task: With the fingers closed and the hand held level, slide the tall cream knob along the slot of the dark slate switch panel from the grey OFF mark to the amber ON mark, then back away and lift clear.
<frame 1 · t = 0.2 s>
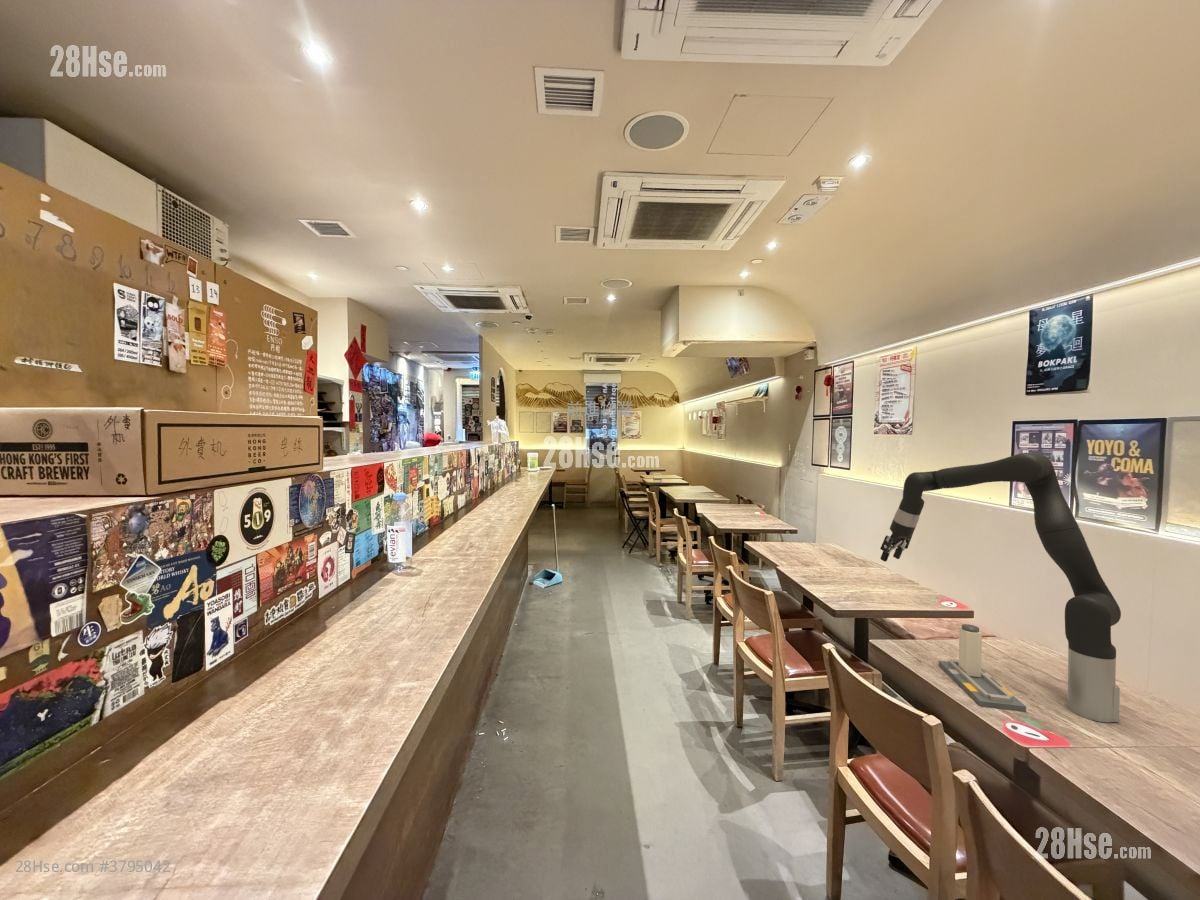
hand: (889, 559, 181), 31 cm above the table, tool tilted 20°, fingers open, 8 cm apart
switch panel: (978, 686, 145), on the table
slider knob: (970, 649, 150), point 9 cm above the table, slide at 0.0 cm
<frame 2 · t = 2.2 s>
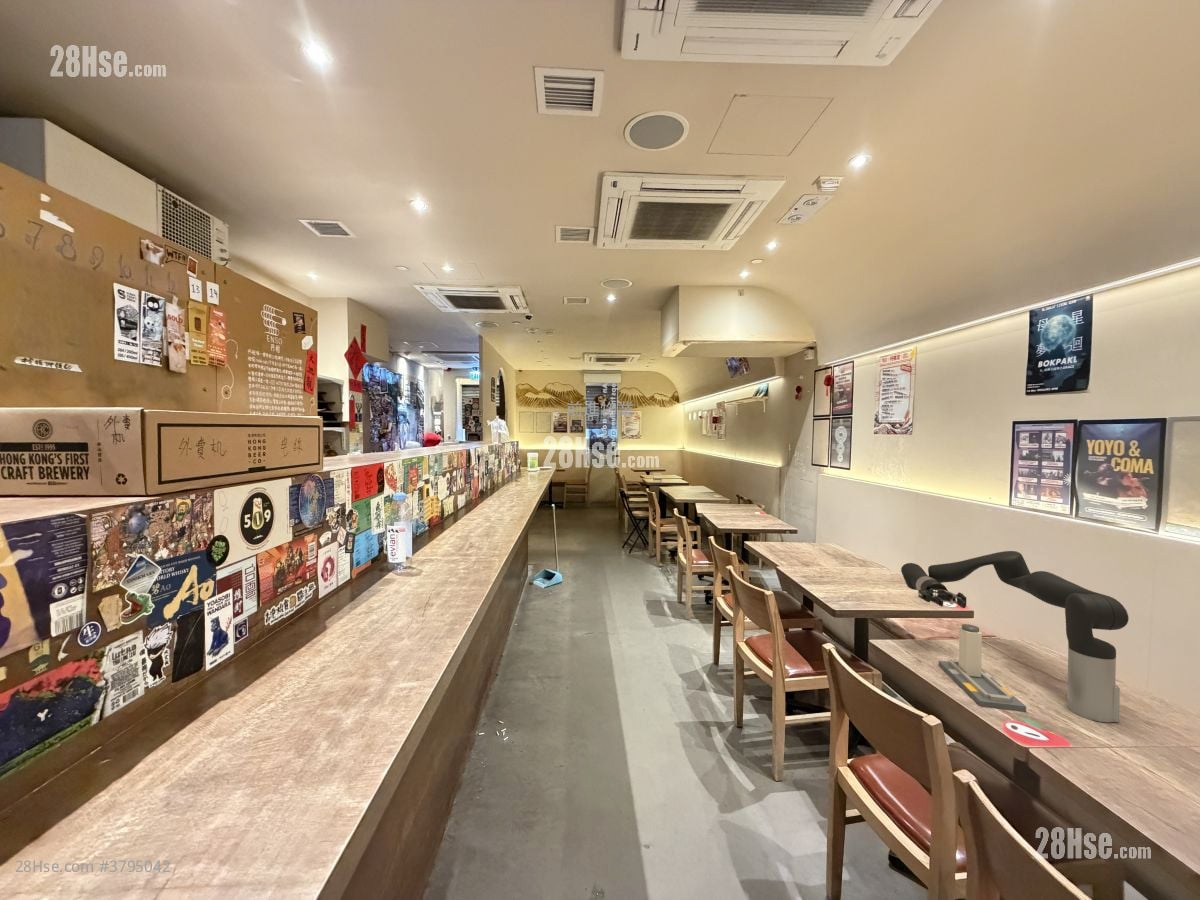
hand: (952, 604, 160), 20 cm above the table, tool horizontal, fingers open, 6 cm apart
nothing on the table moved.
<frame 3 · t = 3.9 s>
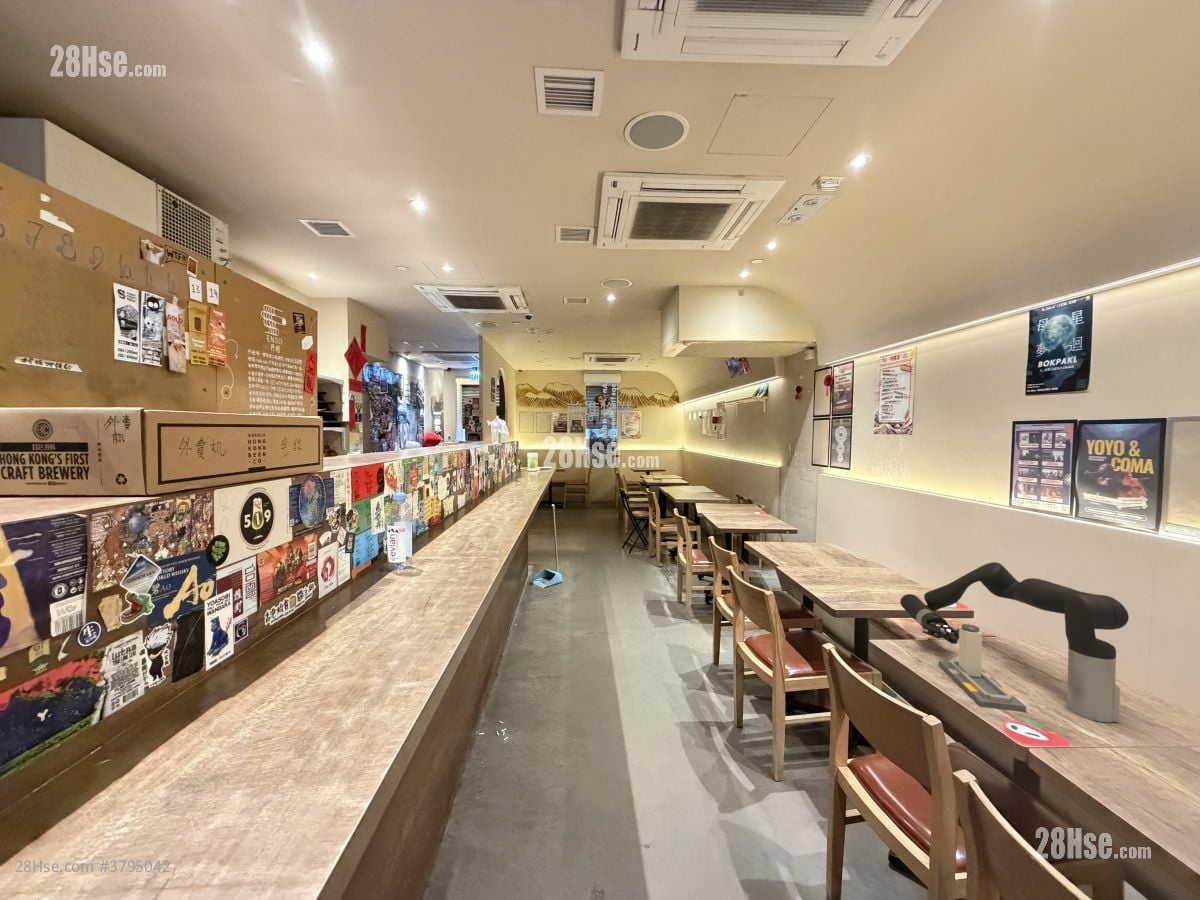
hand: (953, 641, 160), 8 cm above the table, tool horizontal, fingers closed
nothing on the table moved.
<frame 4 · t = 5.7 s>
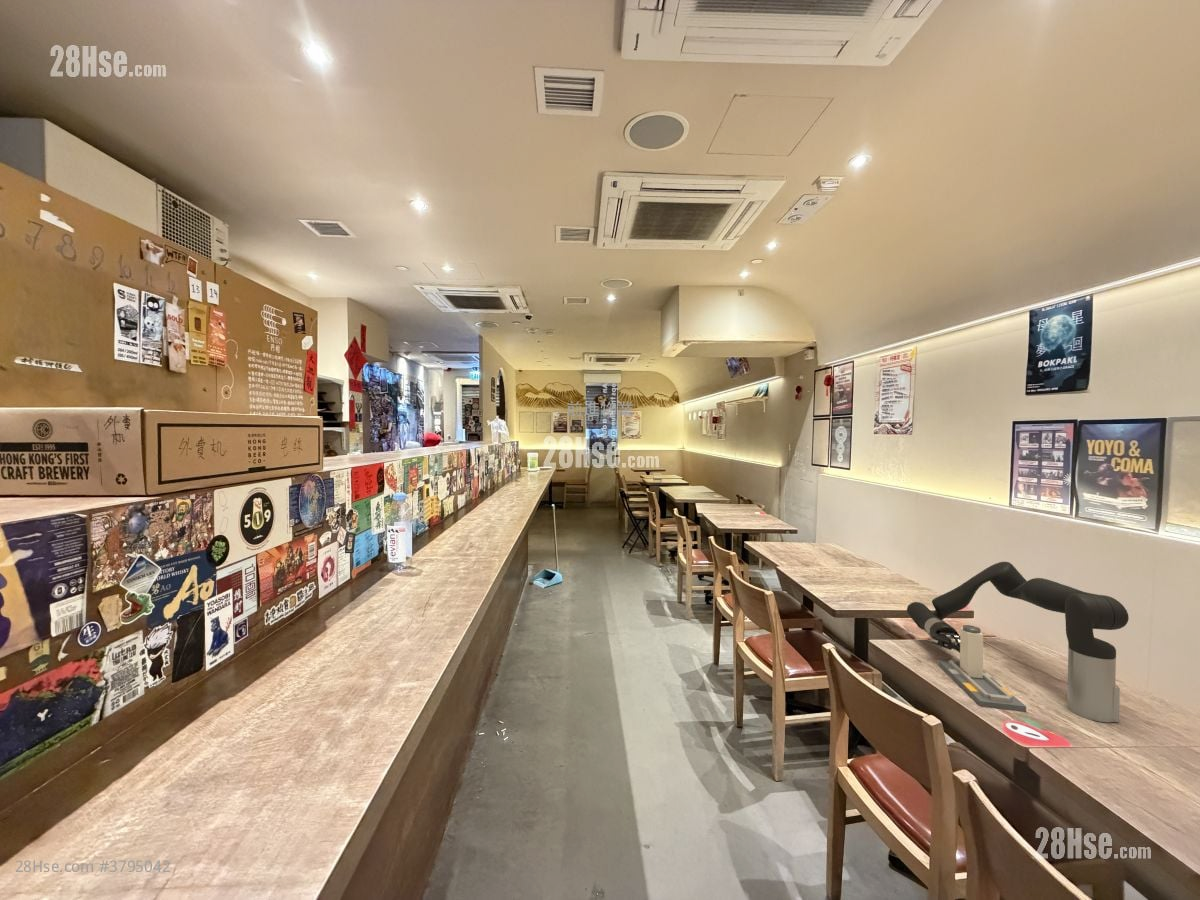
hand: (966, 652, 152), 8 cm above the table, tool horizontal, fingers closed
slider knob: (971, 650, 149), point 9 cm above the table, slide at 0.8 cm, touching gripper
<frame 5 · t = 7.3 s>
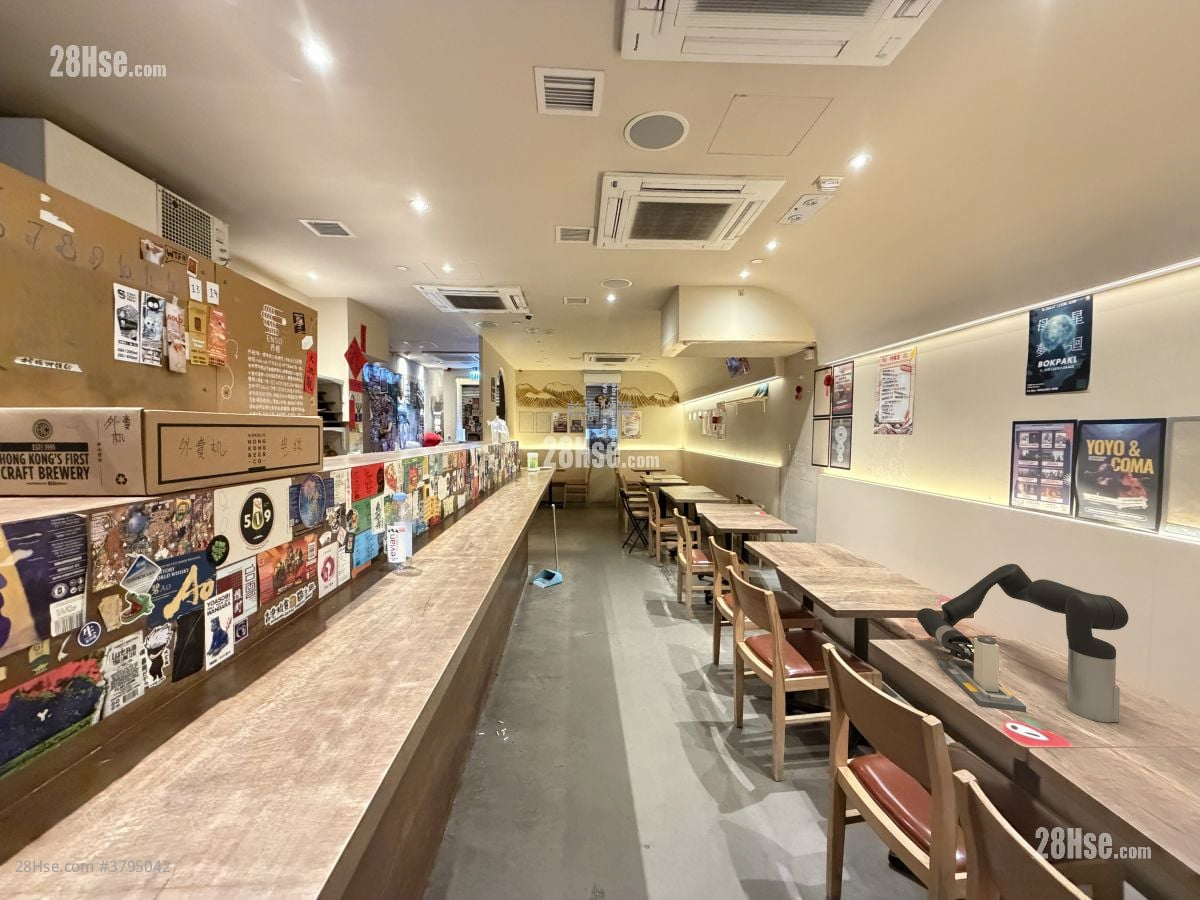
hand: (980, 663, 144), 8 cm above the table, tool horizontal, fingers closed
slider knob: (986, 662, 141), point 9 cm above the table, slide at 9.2 cm, touching gripper
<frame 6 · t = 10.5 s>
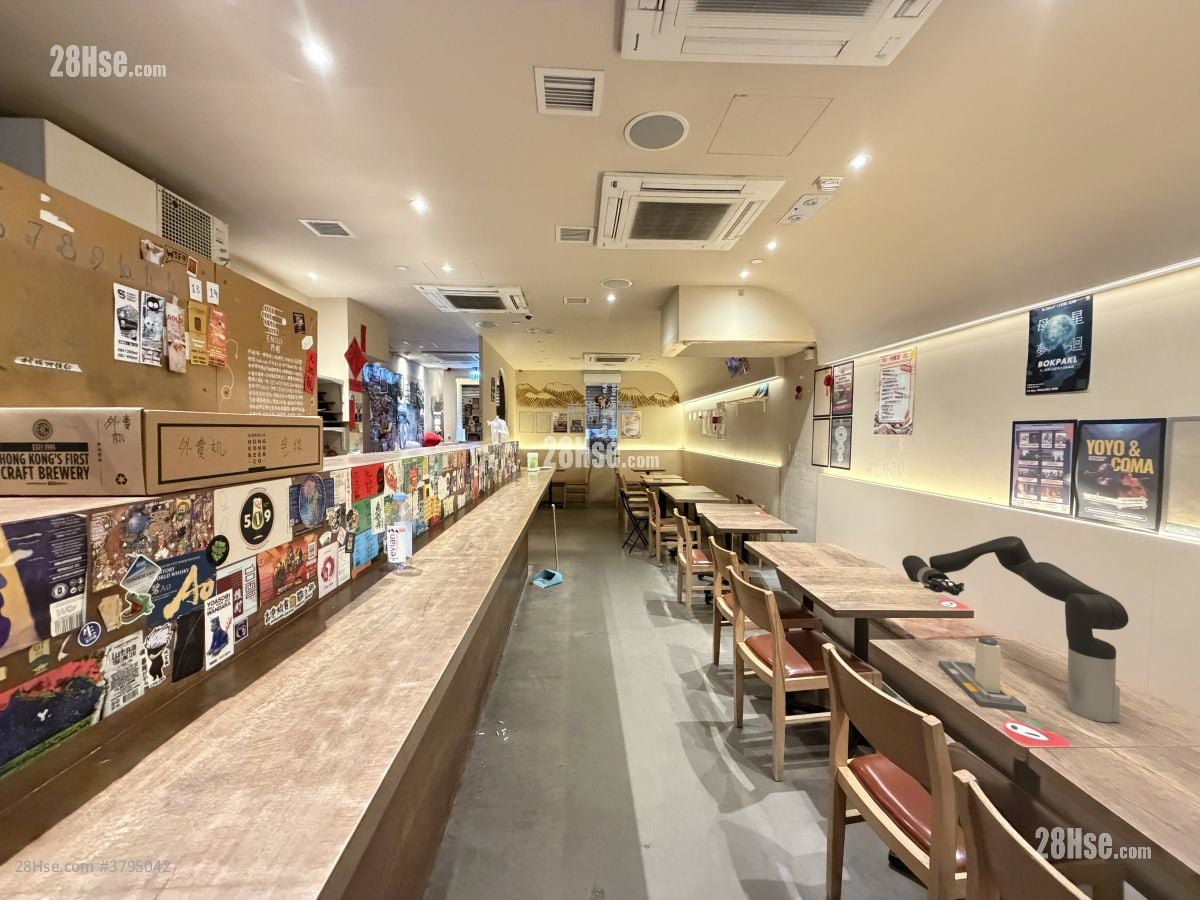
hand: (955, 592, 158), 25 cm above the table, tool horizontal, fingers closed
slider knob: (987, 663, 140), point 9 cm above the table, slide at 10.0 cm
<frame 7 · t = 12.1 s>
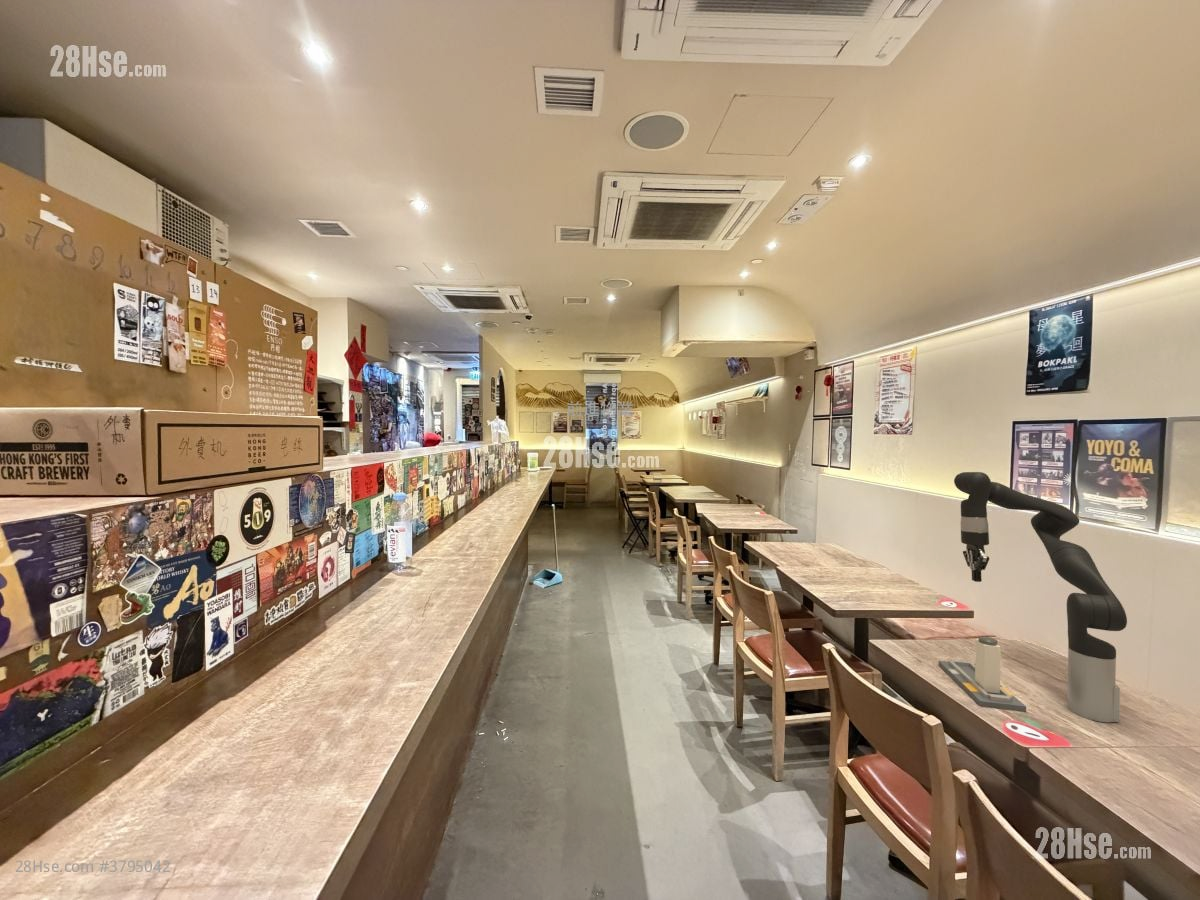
hand: (976, 581, 160), 28 cm above the table, tool pointing down, fingers closed
nothing on the table moved.
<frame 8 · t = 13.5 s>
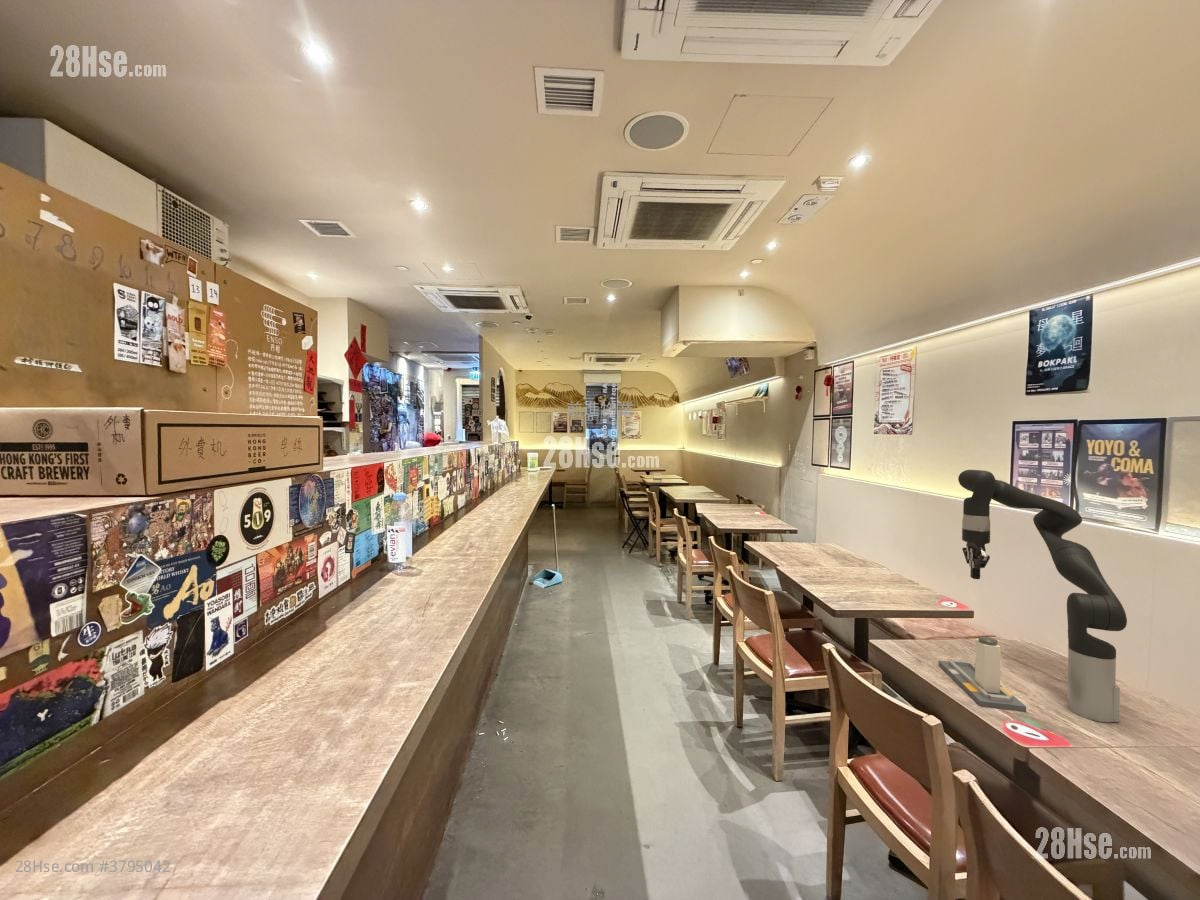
hand: (975, 578, 161), 29 cm above the table, tool pointing down, fingers closed
nothing on the table moved.
at the end: slider knob slide at 10.0 cm; the gripper is holding nothing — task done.
